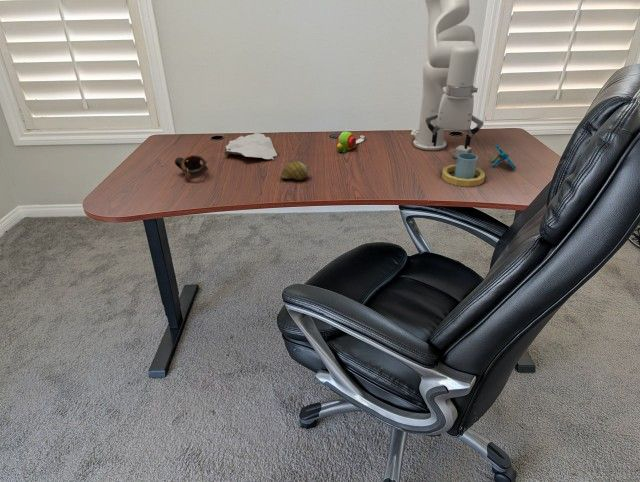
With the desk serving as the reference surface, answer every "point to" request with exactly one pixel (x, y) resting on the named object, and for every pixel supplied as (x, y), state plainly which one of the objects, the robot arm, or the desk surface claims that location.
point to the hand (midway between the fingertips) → (450, 146)
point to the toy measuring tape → (348, 141)
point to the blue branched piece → (502, 157)
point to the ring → (461, 181)
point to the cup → (466, 166)
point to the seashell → (295, 171)
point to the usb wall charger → (461, 150)
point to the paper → (252, 146)
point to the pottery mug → (192, 166)
